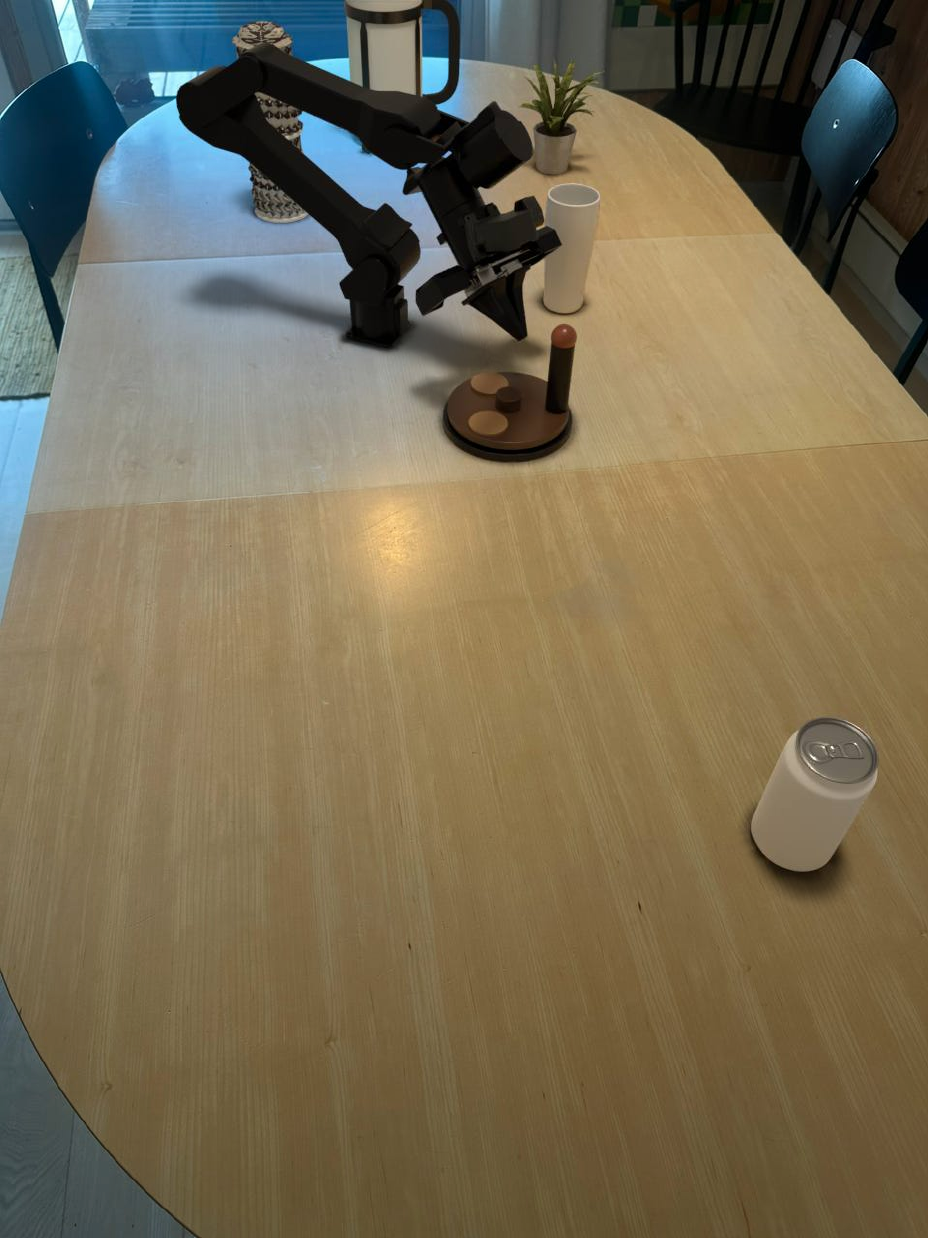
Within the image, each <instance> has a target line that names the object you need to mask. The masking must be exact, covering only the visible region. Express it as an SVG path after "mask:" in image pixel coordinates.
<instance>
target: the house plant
mask: <svg viewBox="0 0 928 1238" xmlns="http://www.w3.org/2000/svg"><path fill="white" fill-rule="evenodd" d="M552 59H553V69H554V77H552V79H553V82H554V104H553V103H552V99H551V94H550V89H549V85H548V82H547V78H546V76H545V74H544V73H543V72H542V70H541V69H540V68H539V65H537V64H536V63H535V62H533V61H531V64H532V67H533V69H534V71H535V74H536V78H537V81H538V85H539V87H537V86H536V84H535V83H534V82H533V81H532V80H531V79H530V78H529V77H527V76H525V75H523V77H524V78H525V79H526V81H527V82H529V84H530V85H531V87H532V89H533V90H534V91H535V92H536V94H537V95H538V98H539V99H532V100H531V103H532V104H531V103H529V102H525V103H522V104H521V105H519V106H518V107H517V108H518V109H519V108H524V109H529V110H533V111H535V112H537V113H538V114H539V115H540V117H541V119H542V121H540V122H537V123H536V124H535V125H533V128H532V129H533V130H532V131H533V143H534V157H535V167H536V170H538V171H539V172H540V173H542V174H546V175H553V176H554V175H561V174H562V175H563V174H564V173H566V172H567V171H568V168H569V164H570V160H571V157H572V151H573V149H574V148H573V147H574V145H575V141H576V136H577V131H578V129H577V128H576V127H577V126H575V125H574V124H572V123H573V121H571V122H568V120H569V119H570V117H571V116H572V115H574V114H576V113H580V116H582V115H583V114H587V115H591V117H594V115H593V113H594V110H588V109H585V108H581V107H584V106H585V105H587V106H588V105H589V104H588V103H586V102H584V100H586V99H587V98H589V97H592V96H593V94H589V92H586V91H585V92H584V91H583V90H584V88H586V87H587V86H588V85H591V84H604V82H601V81H596V80H598V78H595V77H596V76H597V75H600V74H603V73H604V72H605V70H603V71H598V72H595V73H592V74H590V75H589V76H587V77H586V78H584V79H583V80H582V81H581V82H580V83H578V84H576V85H573V86H571V83H572V81H573V79H574V78H573V76H574V75H573V73H574V68H575V63H576V61H574V62H573V58H571V59H570V60H569V63H568V67H567V69H566V70H565V72H564V74H563V76H562V79H561V80H560V74H559V70H558V65H557V63H556V61H555V58H552ZM572 90H573V91H572ZM571 91H572V92H571ZM582 91H583V92H582ZM569 92H571V94H570V95H569V96H568V97H567V98H566V96H567V94H568V93H569ZM580 95H584V96H582V97H581V98H579V96H580ZM576 100H577V101H576ZM576 119H578V117H576V118H575V120H576Z"/></svg>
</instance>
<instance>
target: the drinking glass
mask: <svg viewBox="0 0 928 1238" xmlns="http://www.w3.org/2000/svg"><path fill="white" fill-rule="evenodd" d="M544 210H545V211H544V223H543V227H546V226H548V227H550V228H552V229H554V230H555V231H556V233H557V235H558V237H559V239H560V241H561V243H562V246H561V247H559V248H558V249H557V250H555V251H554V252H552V253H551V254H550V255H548V256H547V257H545V258H544V259H543V262H544V265H543V273H544V274H543V275H544V276H543V296H542V297H543V298H542V299H543V300H542V302H543V304H544V306H545V307H546V308H547V309H548V310H549V311H551V312H554V313H558V314H571V313H575V312H576V311H579V310H580V309H581V308H582V306H583V303H584V296H585V290H586V285H587V279H588V275H589V270H590V265H591V261H592V256H593V251H594V247H595V241H596V237H597V231H598V226H599V219H600V210H601V194H600V192H599V191H598V190H597V189H596V188H594V187H592V186H590V185H586V184H583V183H575V182H574V183H571V182H570V183H569V182H568V183H561V184H556V185H554V186H552V187H551V188H550V189H549V190H548V191H547V194H546V203H545V209H544Z"/></svg>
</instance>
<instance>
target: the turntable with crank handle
mask: <svg viewBox="0 0 928 1238" xmlns="http://www.w3.org/2000/svg"><path fill="white" fill-rule="evenodd" d="M577 341H578V334H577V331H576V329H575V328H574V326H572V325H571V324H568V323H561V324H560V323H559V324H558V325H556V326H555V327H554V328H553V329H552V331H551V333H550V351H549V361H548V370H547V371H548V372H547V373H548V374H547V380H545V379H543V378H540V377H538V376H535V375H532V374H528V373H525V372H523V373H522V372H515V371H493V372H491V371H487V372H480V373H477V374H475V375H474V376H473V377H470V378H468V379H466V380H464V381H462V382H461V383H460V384H458V385H457V386H456V387H455V388H454V389H453V390H452V392H451V393H450V394H449V397H448V399H447V401H448V404H447V414H448V419H449V421H450V423H451V425H452V426H453V428H454V429H455V430H456V431H457V432H458V433H459V434H461V435H462V436H463V437H465V438H466V439H468V440H470V441H472V442H474V443H476V444H479V445H482V446H486V447H490V448H495V449H503V450H520V449H528V448H533V447H537V446H540V445H543V444H545V443H547V442H549V441H551V440H553V439H554V438H556V437H557V436H558V435H560V434H561V433H562V431H563V430H564V429H565V427H566V425H567V423H568V418H569V408H570V405H569V404H570V403H569V401H570V392H571V385H572V384H571V383H572V375H573V369H574V368H573V366H574V360H575V359H574V358H575V351H576V350H575V349H576V343H577Z"/></svg>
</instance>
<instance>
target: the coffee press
mask: <svg viewBox="0 0 928 1238" xmlns="http://www.w3.org/2000/svg"><path fill="white" fill-rule="evenodd" d="M343 7H344V15H345V16H346V31H347V32H346V33H347V48H348V49H347V50H348V51H347V52H348V64H349V65H348V66H349V81H351V82H353V83H355V84H358V85H360V86H362V87H365V88H367V89H372V90H376V91H400V92H404V93H409V94H413V95H418V96H422V97H425V98H427V99H429V100H430V101H432V102H433V103H434V104H435V105H436V106H437V105H441V104H444V103H446V102H447V101H449V100H450V99H451V98H452V97H453V96H454V94H455V92H456V91H457V89H458V85H459V81H460V69H461V68H460V65H461V27H460V18H459V16H458V12H457V10H456V9H455V7H454V6H453V4H452V3H451V2H450V1H449V0H343ZM424 10H433V11H439V12H442V13H443V14H444V16H445V17H446V20H447V24H448V25H447V26H448V51H447V52H448V54H447V55H448V57H447V60H448V61H447V62H448V63H447V64H448V65H447V81H446V83H445V85H444V86H443V88H442V89H441V90H439V91H438V92H434V93H423V14H424ZM361 150H362V152H365V153H368V154H371V153H370V152H369V151H368V150H367V149H366V148H365V146H364V145H363V144H362V143H361Z"/></svg>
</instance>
